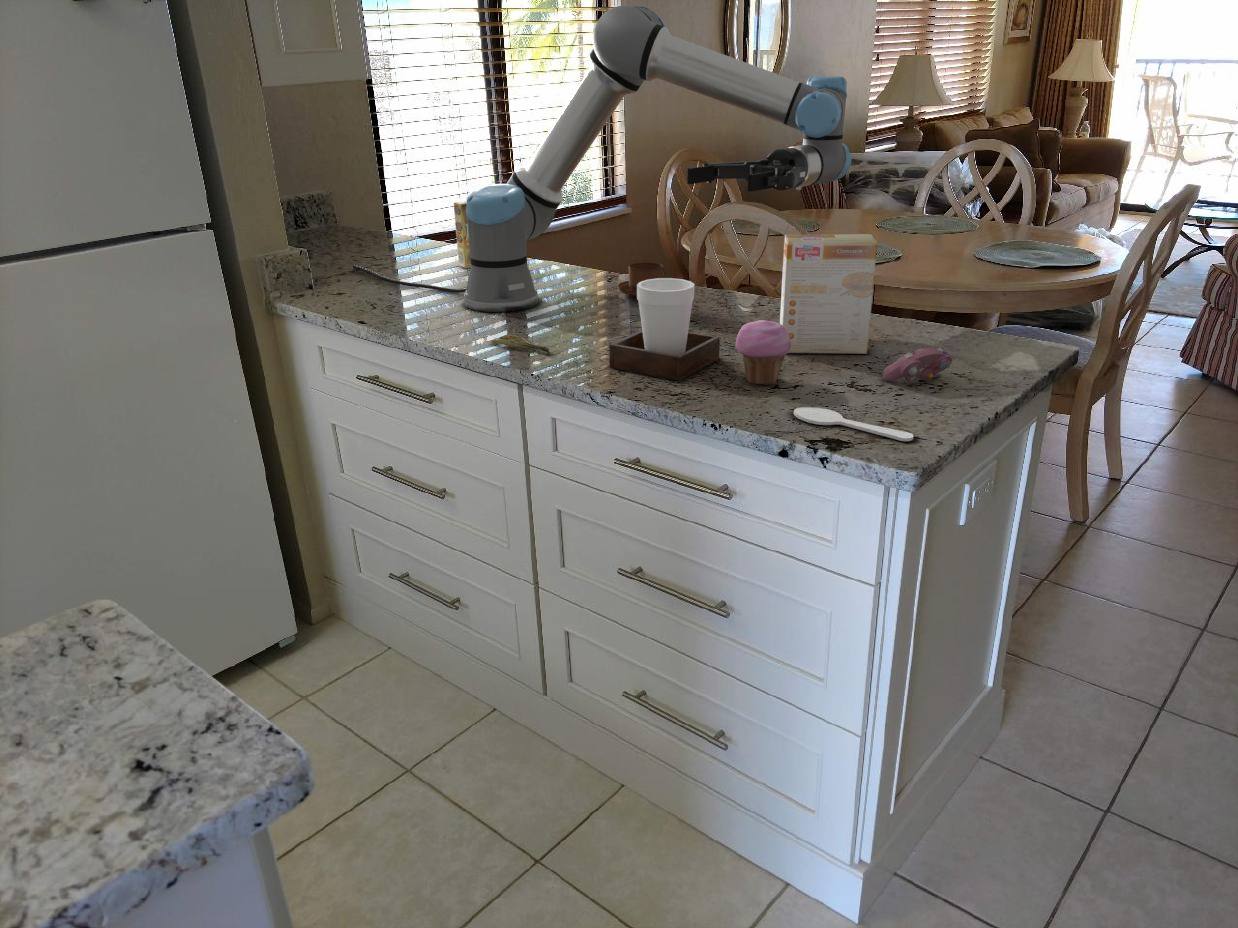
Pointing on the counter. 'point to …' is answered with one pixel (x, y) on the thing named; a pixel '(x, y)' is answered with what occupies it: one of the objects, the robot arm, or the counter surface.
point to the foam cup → (665, 313)
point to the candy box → (462, 234)
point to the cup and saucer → (641, 276)
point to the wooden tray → (664, 356)
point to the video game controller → (918, 365)
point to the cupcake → (763, 350)
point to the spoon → (847, 422)
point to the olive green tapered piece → (519, 343)
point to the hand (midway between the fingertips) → (718, 179)
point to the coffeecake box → (828, 292)
